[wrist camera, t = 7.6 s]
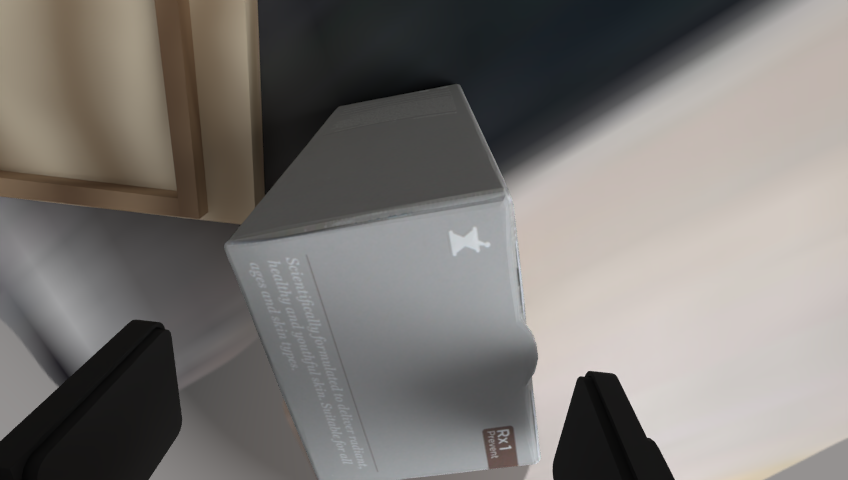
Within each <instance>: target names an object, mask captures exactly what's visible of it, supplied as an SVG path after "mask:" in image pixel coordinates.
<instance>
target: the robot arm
mask: <svg viewBox="0 0 848 480" xmlns="http://www.w3.org/2000/svg"><path fill="white" fill-rule="evenodd" d="M181 425H182V415H181V407H180V399H179V391H178V384H177V376H176V368H175V360H174V353H173V345H172V337H171V333H170V331H169V330H165V328H164V326H163V324H162V323H160V322H152V321H143V320H132V321H131V322H129V323H128V324H127V325H126V326H125V327H124V328H123V329H122V330H121V331H120V332H119V333H117V334H116V335H115V336H114V337H113V338H112V339H111V340H110V341H109V342H108V343H107V344H105V345H104V346H103V347H102V348H101V349H100V350H99V351H98V352H97V353H96V354H95V355H94V356H92V357H91V358H90V359H89V360H88V361H87V362H86V363H85V364H84V365H83V366H82V367H81V368H79V369H78V370H77V371H76V372H75V373H74V374H73V375H72V376H71V377H70V378H69V379H67V380H66V381H65V382H64V383H63V384H62V385H61V386H60V387H59V388H58V389H57V390H56V391H55V392H53V393H52V394H51V395H50V396H49V397H48V398H47V399H46V400H45V401H44V402H43V403H41V404H40V405H39V406H38V407H37V408H36V409H35V410H34V411H33V412H32V413H31V414H30V415H28V416H27V417H26V418H25V419H24V420H23V421H22V422H21V423H20V424H19V425H18V426H17V427H15V428H14V429H13V430H12V431H11V432H10V433H9V434H8V435H7V436H6V437H4V438H3V439H2V441H0V480H149V478H150V477H151V475H152V474H153V472H154V471H155V469H156V468H157V466H158V464H159V463H160V462H161V460H162V459H163V457H164V455H165V454H166V452H167V451H168V449H169V448H170V446H171V445H172V443H173V442H174V440H175V439H176V437H177V436H178V434H179V431H180V429H181ZM553 479H554V480H675V479H674V477H673V475H672V473H671V471H670V469H669V467H668V465H667V463H666V461H665V459H664V458H663V456H662V454H661V452H660V450H659V448H658V446H657V445H656V443H655V442H654V441H653V440H652V439H650V438H647V437H646V435H645V433H644V431H643V429H642V427H641V425H640V423H639V421H638V419H637V417H636V414H635V412H634V410H633V408H632V406H631V404H630V402H629V400H628V398H627V396H626V394H625V392H624V390H623V388H622V386H621V384H620V382H619V380H618V378H617V376H616V375H615V374H612V373H603V372H594V371H588V372H587V373H586V375H585V377H579V378H578V379H577V382H576V385H575V389H574V392H573V396H572V399H571V403H570V406H569V409H568V413H567V416H566V420H565V423H564V427H563V430H562V433H561V437H560V440H559V444H558V447H557V451H556V454H555V458H554V461H553Z"/></svg>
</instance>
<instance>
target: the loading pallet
mask: <svg viewBox="0 0 848 480" xmlns="http://www.w3.org/2000/svg"><path fill="white" fill-rule="evenodd" d="M0 196H1V197H10V198H18V199H27V200H36V201H44V202H53V203H61V204H70V205H78V206H87V207H96V208H104V209H113V210H121V211H130V212H138V213H147V214H156V215H164V216H173V217H181V218H190V219H198V220H207V221H216V222H224V223H233V224H242V223H243V222H244V221H245V219H246V218H247V217H248V216H249V215H250V213H251V212H252V211H253V210H254V209H255V207H256V206H257V205H258V204H259V202H260V201H261V200H262V199H263V197H264V196H265V186H264V160H263V133H262V107H261V81H260V54H259V28H258V1H257V0H0Z"/></svg>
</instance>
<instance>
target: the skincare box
mask: <svg viewBox="0 0 848 480" xmlns="http://www.w3.org/2000/svg"><path fill="white" fill-rule="evenodd" d="M224 249H225V252H226V255H227V257H228V259H229V262H230V264H231V266H232V268H233V271H234V273H235V276H236V279H237V281H238V284H239V286H240V289H241V292H242V294H243V296H244V299H245V301H246V304H247V306H248V309H249V312H250V314H251V317H252V319H253V322H254V325H255V327H256V330H257V332H258V335H259V337H260V340H261V342H262V345H263V348H264V350H265V353H266V355H267V358H268V360H269V363H270V365H271V368H272V370H273V373H274V375H275V378H276V380H277V383H278V386H279V388H280V391H281V393H282V396H283V398H284V400H285V402H286V404H287V407H288V409H289V412H290V414H291V417H292V419H293V422H294V424H295V427H296V429H297V431H298V434H299V436H300V438H301V441H302V443H303V445H304V447H305V450H306V452H307V455H308V457H309V460H310V462H311V464H312V467H313V469H314V472H315V474H316V476H317V478H318V480H401V479H408V478H417V477H426V476H434V475H444V474H453V473H461V472H470V471H478V470H486V469H495V468H503V467H512V466H522V465H532V464H536V463H538V462H539V460H540V458H541V453H540V446H539V437H538V428H537V419H536V410H535V402H534V393H533V385H532V375H533V374H534V373H535V369H536V365H537V360H538V353H537V346H536V342H535V339H534V336H533V334H532V332H531V330H530V329H529V328H528V326H527V325H526V315H525V303H524V294H523V285H522V275H521V266H520V257H519V248H518V239H517V230H516V221H515V212H514V204H513V201H512V198H511V195H510V193H509V191H508V188H507V186H506V183H505V181H504V179H503V177H502V175H501V173H500V170H499V168H498V166H497V164H496V162H495V159H494V157H493V155H492V153H491V151H490V149H489V147H488V144H487V142H486V140H485V138H484V136H483V134H482V132H481V130H480V127H479V125H478V123H477V121H476V119H475V117H474V114H473V112H472V110H471V108H470V106H469V104H468V102H467V100H466V97H465V95H464V93H463V90H462V88H461V86H460V85H458V84H454V85H449V86H443V87H438V88H433V89H428V90H422V91H417V92H412V93H407V94H402V95H397V96H391V97H386V98H381V99H375V100H370V101H365V102H360V103H354V104H349V105H344V106H339V107H338V108H337V109H336V110H335V111H334V112H333V113H332V114H331V116H330V117H329V118H328V119H327V121H326V122H325V123H324V124H323V126H322V127H321V128H320V129H319V130H318V132H317V133H316V134H315V135H314V137H313V138H312V139H311V140H310V142H309V143H308V144H307V145H306V147H305V148H304V149H303V150H302V151H301V153H300V154H299V155H298V156H297V158H296V159H295V160H294V161H293V162H292V163H291V165H290V166H289V167H288V169H287V170H286V171H285V172H284V173H283V175H282V176H281V177H280V178H279V179H278V180H277V182H276V183H275V184H274V186H273V187H272V188H271V189H270V190H269V191H268V193H267V194H266V195H265V196H264V197H263V199H262V200H261V201H260V202H259V204H258V205H257V206H256V207H255V209H254V210H253V211H252V212H251V213H250V215H249V216H248V217H247V218H246V219H245V221H244V222H243V223H242V224H241V225H240V227H239V228H238V229H237V230H236V232H235V233H234V234H233V235H232V237H231V238H230V239H229V240H228V241H227V242H226V243H225V245H224Z"/></svg>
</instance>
